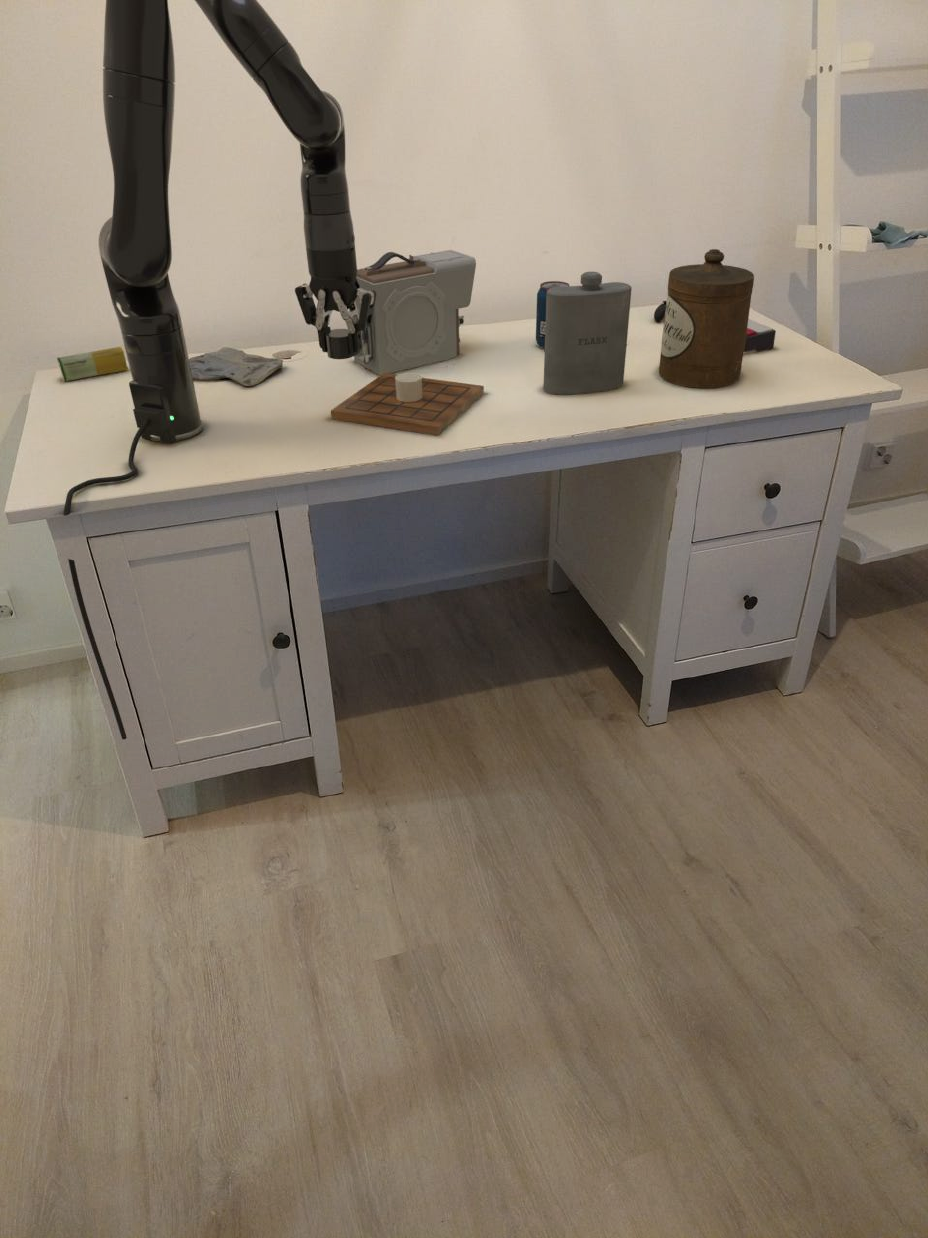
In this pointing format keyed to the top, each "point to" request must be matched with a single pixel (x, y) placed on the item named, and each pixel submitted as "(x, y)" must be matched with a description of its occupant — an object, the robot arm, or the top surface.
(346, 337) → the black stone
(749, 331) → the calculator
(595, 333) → the flask
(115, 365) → the medication box
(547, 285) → the soda can
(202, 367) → the fossil rock
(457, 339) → the portable television
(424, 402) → the board
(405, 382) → the ivory stone
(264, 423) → the top surface
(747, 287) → the wooden container
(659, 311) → the dark grey oval piece
